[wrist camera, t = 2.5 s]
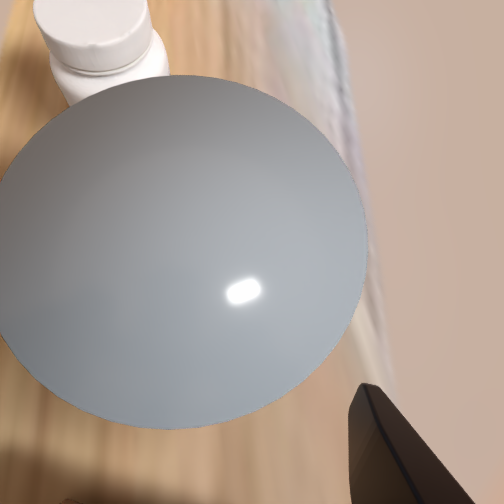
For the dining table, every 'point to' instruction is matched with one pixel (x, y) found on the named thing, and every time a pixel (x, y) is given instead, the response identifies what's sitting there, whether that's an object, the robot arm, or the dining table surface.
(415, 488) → the robot arm
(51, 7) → the pill bottle
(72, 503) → the walnut box
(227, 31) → the dining table surface
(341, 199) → the grey cylinder
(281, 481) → the dining table surface
